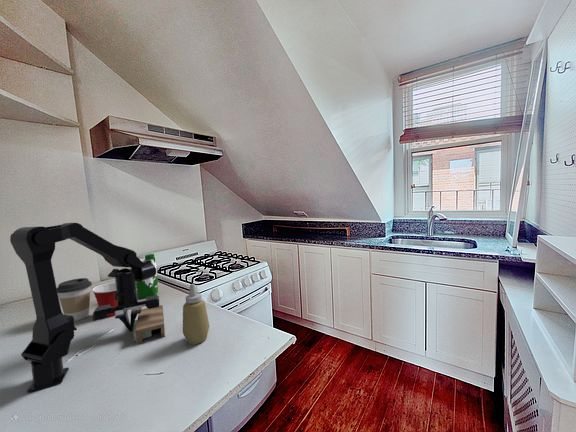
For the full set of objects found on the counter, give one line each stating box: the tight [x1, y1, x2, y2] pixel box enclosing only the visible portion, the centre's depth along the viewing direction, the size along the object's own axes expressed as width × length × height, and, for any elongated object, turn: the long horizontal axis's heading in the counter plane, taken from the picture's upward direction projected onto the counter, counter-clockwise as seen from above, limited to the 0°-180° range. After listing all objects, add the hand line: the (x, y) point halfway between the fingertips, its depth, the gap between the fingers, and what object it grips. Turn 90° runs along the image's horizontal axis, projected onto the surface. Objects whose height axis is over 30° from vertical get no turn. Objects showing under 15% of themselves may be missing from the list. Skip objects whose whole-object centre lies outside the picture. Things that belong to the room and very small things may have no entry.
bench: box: [136, 304, 166, 345], centre depth 90 cm, size 18×8×5 cm, turn 27°
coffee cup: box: [57, 277, 93, 322], centre depth 103 cm, size 11×11×15 cm
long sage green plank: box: [132, 319, 152, 342], centre depth 89 cm, size 12×5×3 cm, turn 30°
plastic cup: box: [91, 282, 118, 319], centre depth 104 cm, size 11×11×12 cm
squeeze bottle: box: [182, 283, 210, 345], centre depth 80 cm, size 8×8×18 cm
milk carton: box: [136, 253, 159, 300], centre depth 124 cm, size 9×9×20 cm
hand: (130, 331), depth 87 cm, fingers closed
